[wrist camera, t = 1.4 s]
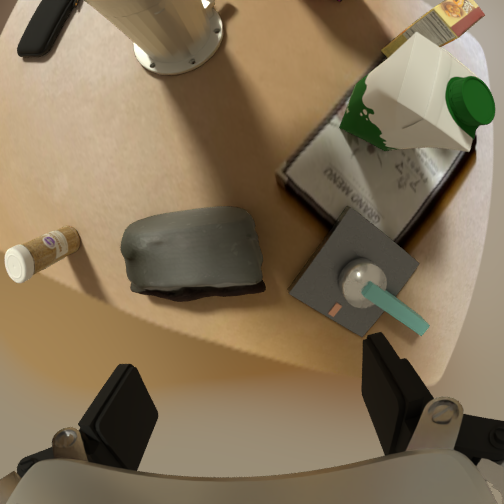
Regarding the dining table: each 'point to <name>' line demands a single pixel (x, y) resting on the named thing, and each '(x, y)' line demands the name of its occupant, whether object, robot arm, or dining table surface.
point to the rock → (194, 254)
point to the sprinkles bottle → (40, 253)
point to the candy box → (440, 24)
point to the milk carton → (419, 101)
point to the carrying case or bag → (44, 27)
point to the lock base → (337, 257)
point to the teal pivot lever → (376, 293)
